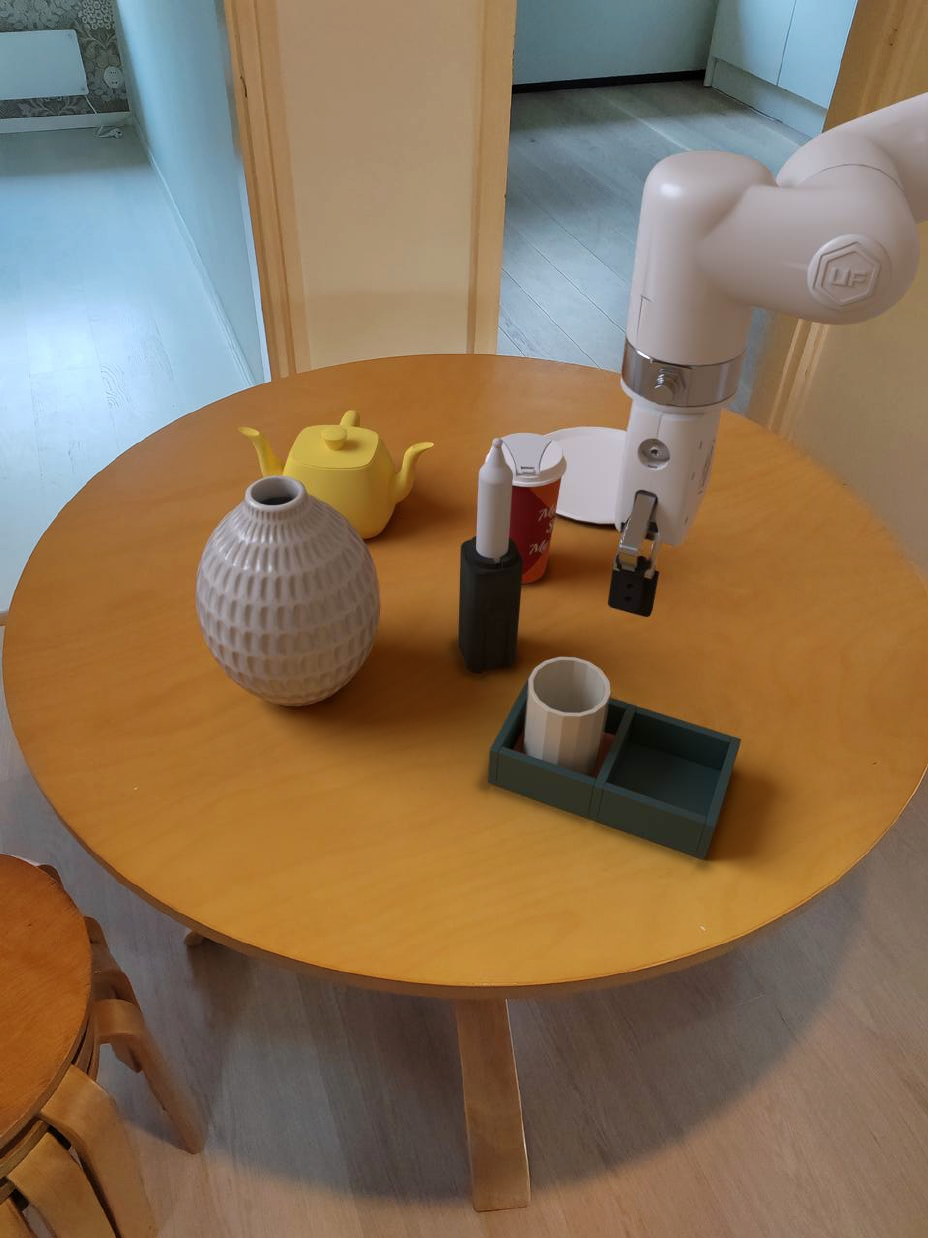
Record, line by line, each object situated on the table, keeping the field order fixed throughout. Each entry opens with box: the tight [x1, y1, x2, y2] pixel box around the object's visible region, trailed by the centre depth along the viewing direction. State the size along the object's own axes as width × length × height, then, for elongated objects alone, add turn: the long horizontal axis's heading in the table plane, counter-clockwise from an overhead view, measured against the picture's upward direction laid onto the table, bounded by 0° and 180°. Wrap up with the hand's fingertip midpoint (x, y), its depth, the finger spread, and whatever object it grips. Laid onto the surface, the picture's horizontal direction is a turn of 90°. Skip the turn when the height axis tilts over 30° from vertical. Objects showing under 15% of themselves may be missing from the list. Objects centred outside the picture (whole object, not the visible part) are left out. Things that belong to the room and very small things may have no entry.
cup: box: [522, 656, 612, 776], centre depth 85 cm, size 7×7×9 cm
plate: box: [542, 426, 627, 526], centre depth 121 cm, size 21×21×1 cm
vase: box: [194, 476, 382, 707], centre depth 88 cm, size 16×16×22 cm
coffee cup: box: [484, 432, 567, 585], centre depth 104 cm, size 8×8×15 cm
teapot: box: [237, 409, 435, 540], centre depth 113 cm, size 22×16×11 cm
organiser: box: [487, 671, 742, 861], centre depth 86 cm, size 19×10×5 cm, turn 67°
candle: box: [457, 437, 523, 674], centre depth 90 cm, size 5×5×25 cm
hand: (647, 570), depth 75 cm, fingers open, 9 cm apart
